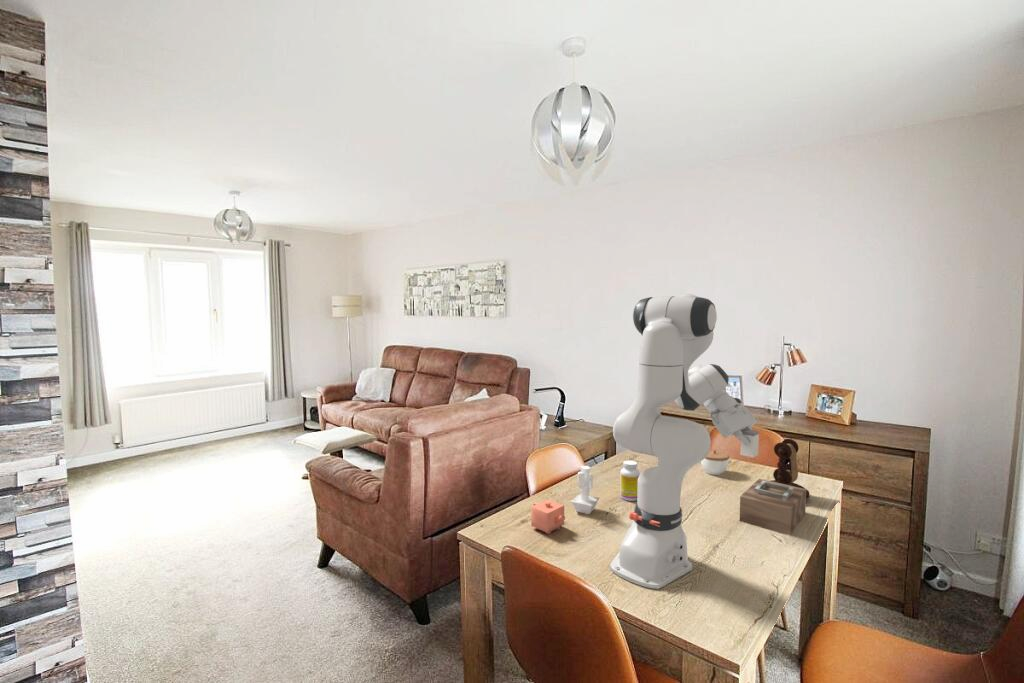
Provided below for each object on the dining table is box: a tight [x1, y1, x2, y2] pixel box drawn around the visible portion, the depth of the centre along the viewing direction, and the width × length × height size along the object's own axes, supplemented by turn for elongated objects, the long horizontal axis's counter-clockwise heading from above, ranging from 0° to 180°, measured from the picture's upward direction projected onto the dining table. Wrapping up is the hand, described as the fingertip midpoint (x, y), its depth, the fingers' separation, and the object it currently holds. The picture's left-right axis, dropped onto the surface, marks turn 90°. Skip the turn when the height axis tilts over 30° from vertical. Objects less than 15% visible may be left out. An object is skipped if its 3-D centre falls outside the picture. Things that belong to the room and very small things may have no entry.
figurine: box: [570, 465, 600, 515], centre depth 155 cm, size 7×9×15 cm
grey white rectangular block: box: [739, 429, 760, 458], centre depth 153 cm, size 4×4×8 cm
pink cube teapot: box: [530, 499, 566, 535], centre depth 143 cm, size 8×12×8 cm, turn 44°
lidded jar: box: [700, 449, 730, 476], centre depth 189 cm, size 11×11×9 cm
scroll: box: [770, 438, 810, 500], centre depth 165 cm, size 15×15×20 cm
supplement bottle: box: [619, 460, 641, 502], centre depth 165 cm, size 7×7×13 cm
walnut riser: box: [739, 478, 807, 536], centre depth 149 cm, size 20×14×10 cm
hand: (751, 442), depth 152 cm, fingers closed on grey white rectangular block, 4 cm apart
